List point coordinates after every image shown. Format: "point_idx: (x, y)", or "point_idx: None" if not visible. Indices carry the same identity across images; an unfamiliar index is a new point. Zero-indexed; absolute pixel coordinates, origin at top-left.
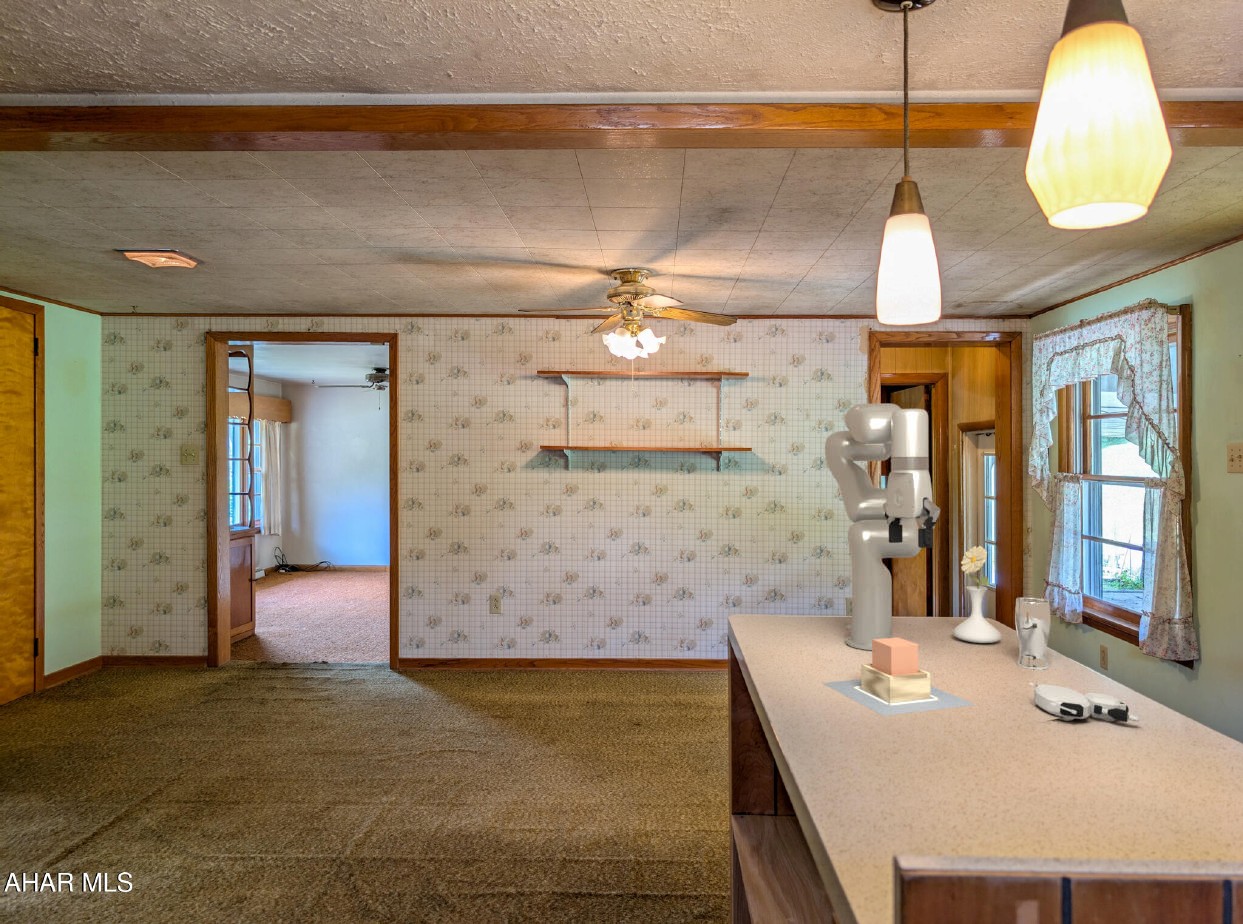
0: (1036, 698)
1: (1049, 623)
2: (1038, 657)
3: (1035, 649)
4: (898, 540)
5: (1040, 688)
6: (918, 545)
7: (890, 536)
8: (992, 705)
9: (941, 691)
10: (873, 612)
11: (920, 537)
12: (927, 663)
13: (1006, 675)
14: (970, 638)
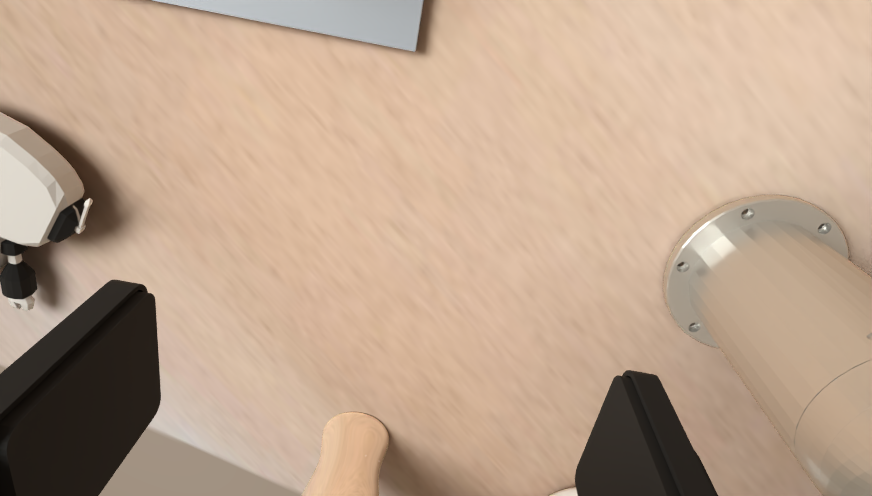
0: (16, 128)
1: None
2: (323, 447)
3: (322, 459)
4: (591, 455)
5: (14, 161)
6: (133, 289)
7: (647, 417)
8: (127, 73)
9: (228, 5)
10: (772, 300)
11: (43, 349)
12: (505, 252)
13: (324, 329)
14: (566, 491)
